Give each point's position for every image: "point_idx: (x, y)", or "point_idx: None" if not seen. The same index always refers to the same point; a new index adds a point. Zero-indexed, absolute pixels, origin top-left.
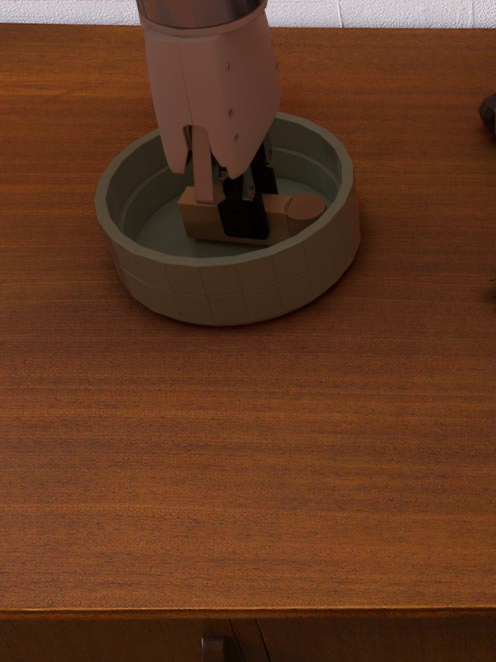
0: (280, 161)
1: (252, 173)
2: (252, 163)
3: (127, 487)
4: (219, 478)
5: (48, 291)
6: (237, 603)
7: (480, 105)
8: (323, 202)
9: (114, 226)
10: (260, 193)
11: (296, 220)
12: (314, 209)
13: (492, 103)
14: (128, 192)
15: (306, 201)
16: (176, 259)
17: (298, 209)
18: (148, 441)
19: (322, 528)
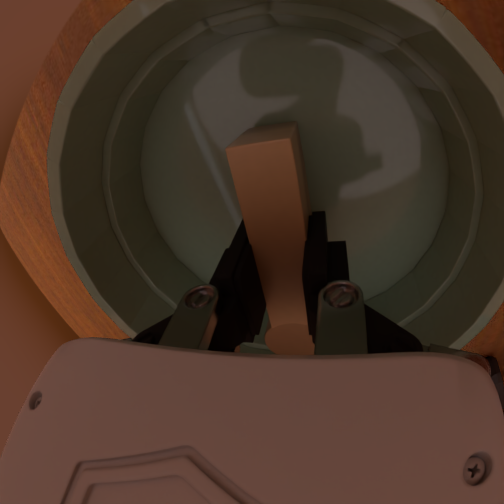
0: (458, 225)
1: (307, 315)
2: (312, 333)
3: (37, 235)
4: (71, 281)
5: (110, 11)
6: (52, 304)
7: (497, 378)
8: None
9: (60, 141)
10: (248, 342)
11: (264, 338)
12: (292, 352)
13: None
14: (248, 4)
15: (307, 342)
16: (79, 270)
17: (286, 338)
18: (55, 230)
19: (92, 329)
